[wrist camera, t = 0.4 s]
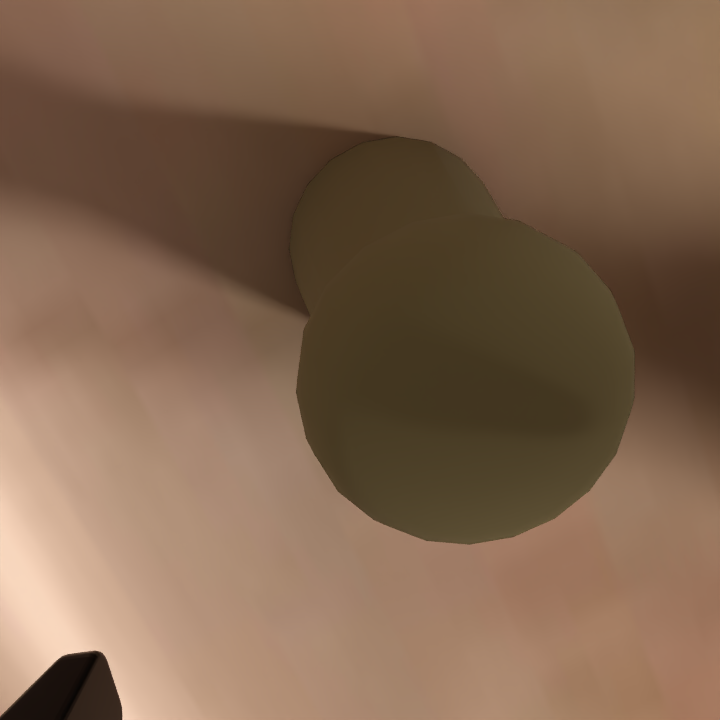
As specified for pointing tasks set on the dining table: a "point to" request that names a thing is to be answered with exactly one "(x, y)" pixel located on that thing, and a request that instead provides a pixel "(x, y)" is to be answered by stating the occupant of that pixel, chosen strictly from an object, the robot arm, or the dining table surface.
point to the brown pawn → (450, 349)
